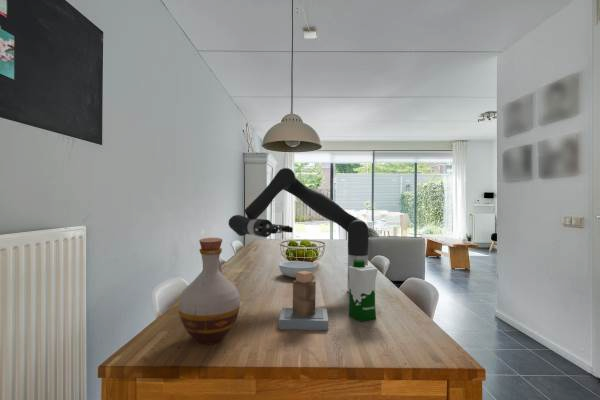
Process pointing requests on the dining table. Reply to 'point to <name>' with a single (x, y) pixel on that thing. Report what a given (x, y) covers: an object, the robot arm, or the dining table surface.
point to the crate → (304, 298)
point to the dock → (303, 320)
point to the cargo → (304, 276)
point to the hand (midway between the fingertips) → (284, 230)
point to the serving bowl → (296, 267)
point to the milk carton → (362, 291)
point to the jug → (209, 298)
